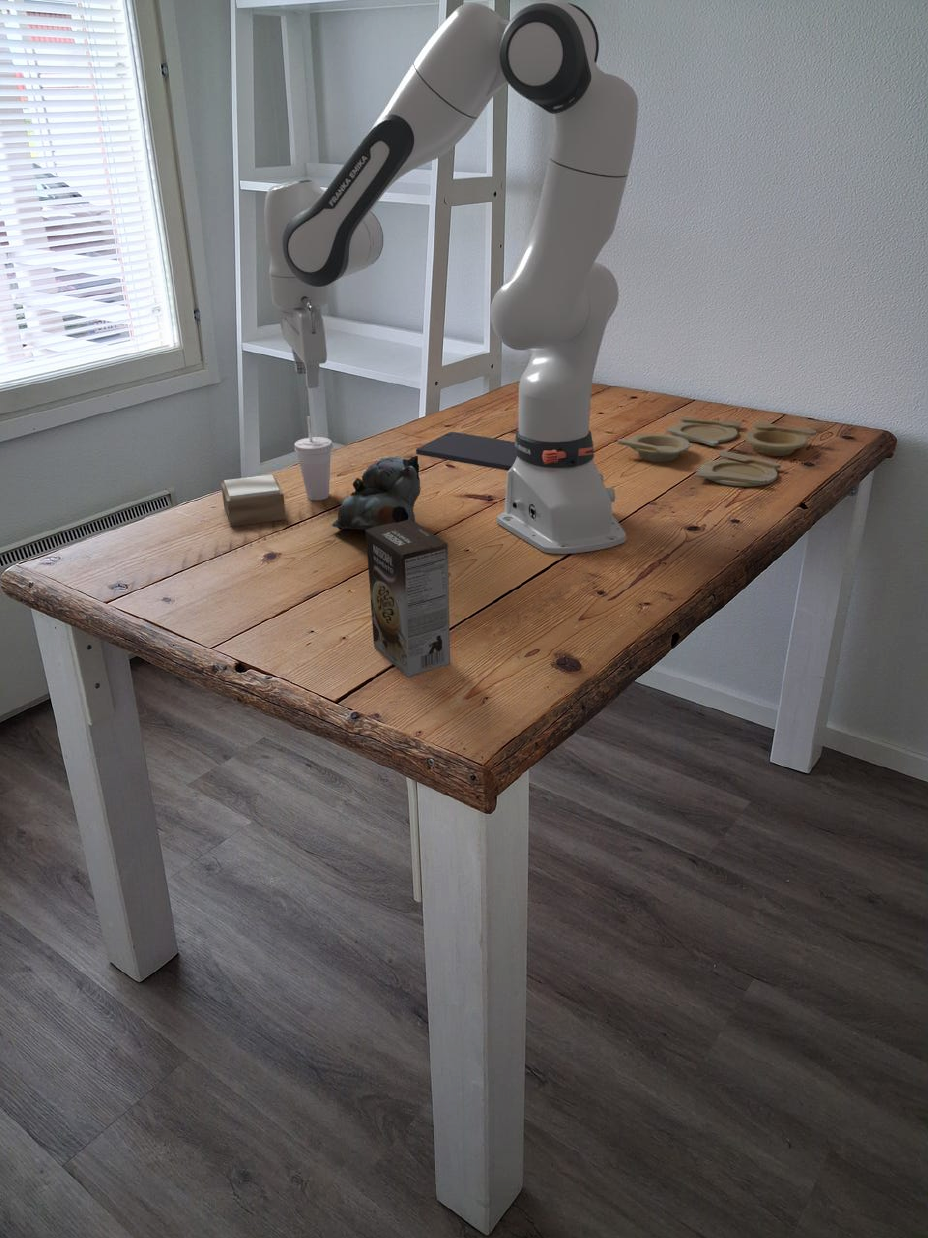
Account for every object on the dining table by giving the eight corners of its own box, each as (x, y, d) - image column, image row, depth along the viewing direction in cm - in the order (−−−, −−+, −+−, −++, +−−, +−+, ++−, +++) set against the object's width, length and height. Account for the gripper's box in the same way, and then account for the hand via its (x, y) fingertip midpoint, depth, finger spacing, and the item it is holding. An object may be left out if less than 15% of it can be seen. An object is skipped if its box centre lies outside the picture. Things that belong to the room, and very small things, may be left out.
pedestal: (286, 519, 164) (283, 490, 162) (230, 526, 162) (226, 497, 159) (277, 500, 172) (274, 473, 170) (224, 507, 169) (220, 479, 167)
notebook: (416, 456, 193) (512, 474, 183) (415, 448, 193) (512, 466, 183) (450, 438, 203) (544, 454, 193) (450, 431, 202) (544, 446, 192)
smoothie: (319, 487, 177) (312, 409, 171) (344, 495, 174) (338, 416, 167) (291, 497, 173) (283, 418, 166) (317, 505, 169) (310, 425, 163)
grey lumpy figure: (321, 525, 161) (341, 441, 161) (389, 542, 167) (408, 460, 166) (352, 530, 148) (373, 438, 148) (424, 548, 153) (445, 460, 153)
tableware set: (755, 498, 170) (757, 475, 168) (604, 466, 186) (605, 445, 184) (827, 445, 195) (830, 424, 193) (688, 420, 210) (690, 401, 208)
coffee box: (371, 647, 126) (363, 528, 118) (416, 634, 129) (410, 516, 121) (406, 679, 119) (400, 554, 111) (452, 663, 122) (449, 541, 114)
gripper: (333, 302, 150) (339, 393, 156) (307, 280, 167) (314, 364, 173) (291, 305, 148) (299, 397, 154) (269, 283, 165) (277, 367, 172)
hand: (307, 379), depth 164 cm, fingers open, 8 cm apart
